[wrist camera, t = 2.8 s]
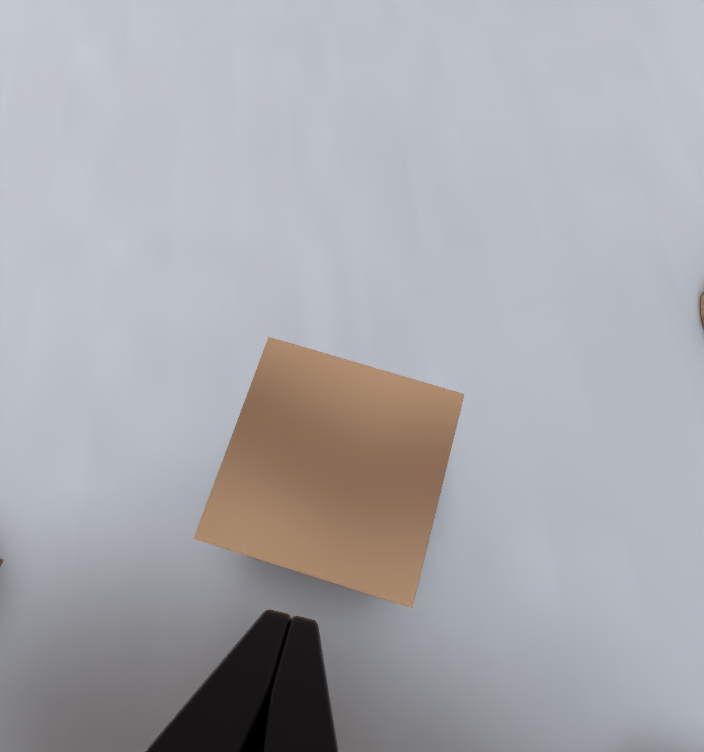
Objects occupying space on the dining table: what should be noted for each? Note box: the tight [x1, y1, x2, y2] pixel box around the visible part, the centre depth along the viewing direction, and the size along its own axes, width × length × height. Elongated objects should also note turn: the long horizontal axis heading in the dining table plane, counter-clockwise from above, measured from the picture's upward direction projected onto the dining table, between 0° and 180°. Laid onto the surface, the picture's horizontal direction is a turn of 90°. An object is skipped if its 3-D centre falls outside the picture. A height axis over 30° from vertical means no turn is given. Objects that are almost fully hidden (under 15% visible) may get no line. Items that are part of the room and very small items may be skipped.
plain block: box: [194, 337, 464, 608], centre depth 17 cm, size 5×5×8 cm
